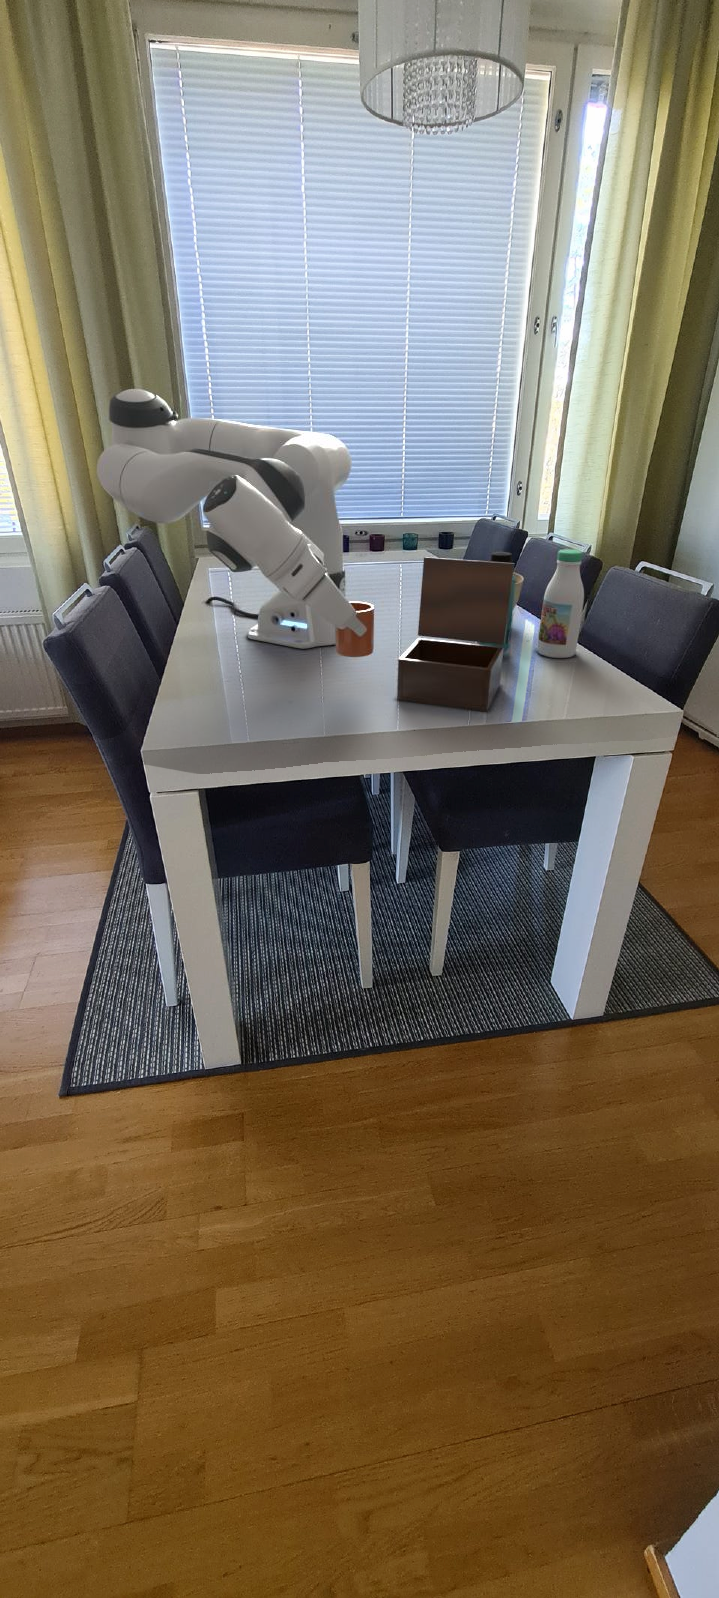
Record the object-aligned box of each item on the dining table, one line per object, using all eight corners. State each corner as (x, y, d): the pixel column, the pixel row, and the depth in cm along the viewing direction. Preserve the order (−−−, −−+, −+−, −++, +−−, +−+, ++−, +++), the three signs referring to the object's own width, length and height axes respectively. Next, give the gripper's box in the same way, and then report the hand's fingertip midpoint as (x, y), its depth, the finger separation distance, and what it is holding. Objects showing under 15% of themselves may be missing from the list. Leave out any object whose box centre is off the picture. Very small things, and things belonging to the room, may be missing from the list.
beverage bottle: (508, 661, 137) (520, 556, 127) (474, 659, 138) (483, 555, 128) (509, 651, 143) (520, 549, 133) (476, 649, 144) (485, 548, 134)
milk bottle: (557, 645, 146) (572, 545, 136) (583, 655, 140) (600, 552, 130) (528, 650, 143) (541, 549, 133) (553, 661, 137) (569, 556, 127)
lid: (513, 563, 116) (517, 562, 120) (423, 557, 121) (430, 556, 125) (503, 644, 121) (507, 640, 125) (417, 635, 126) (423, 632, 130)
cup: (330, 654, 116) (329, 609, 112) (343, 643, 121) (342, 600, 117) (366, 659, 114) (366, 613, 110) (378, 647, 119) (378, 603, 115)
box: (486, 711, 115) (490, 669, 112) (397, 699, 120) (398, 658, 116) (499, 685, 126) (503, 646, 122) (416, 675, 130) (418, 637, 126)
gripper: (275, 568, 118) (333, 622, 125) (292, 598, 101) (358, 658, 108) (300, 540, 117) (357, 595, 123) (321, 565, 99) (386, 628, 106)
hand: (357, 625), depth 115 cm, fingers closed on cup, 6 cm apart
